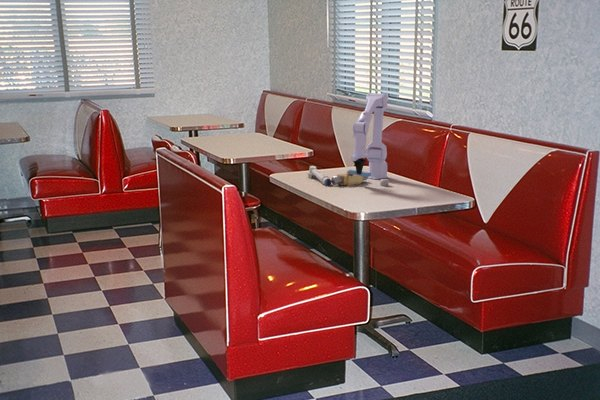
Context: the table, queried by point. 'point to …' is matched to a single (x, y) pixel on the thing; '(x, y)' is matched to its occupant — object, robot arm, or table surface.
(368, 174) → the lever
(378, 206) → the table surface
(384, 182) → the pvc end cap
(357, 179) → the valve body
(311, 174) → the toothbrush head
